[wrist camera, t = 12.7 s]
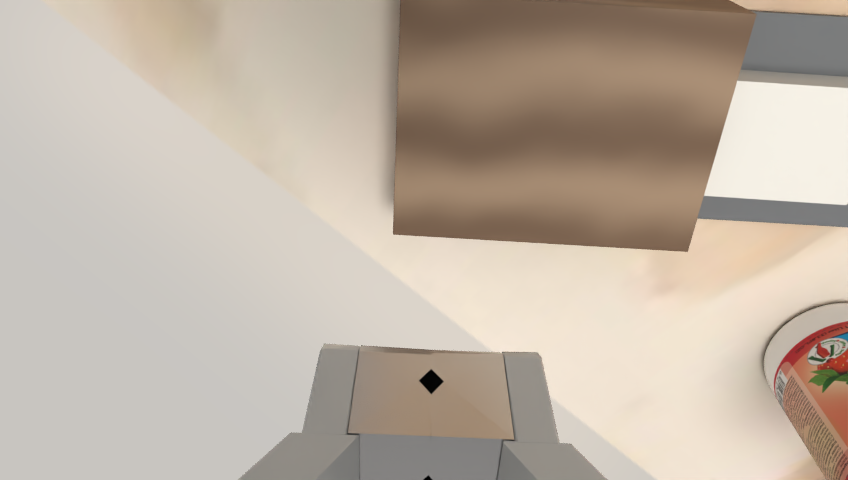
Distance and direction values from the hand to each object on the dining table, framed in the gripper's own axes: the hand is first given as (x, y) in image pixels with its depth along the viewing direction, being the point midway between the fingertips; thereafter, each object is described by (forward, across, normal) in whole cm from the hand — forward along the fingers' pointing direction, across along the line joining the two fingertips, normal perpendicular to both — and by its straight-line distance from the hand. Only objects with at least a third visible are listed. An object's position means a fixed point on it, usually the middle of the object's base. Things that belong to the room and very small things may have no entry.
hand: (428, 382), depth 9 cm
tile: (+31, -21, +8) cm, 38 cm away
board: (+32, -8, +7) cm, 33 cm away
